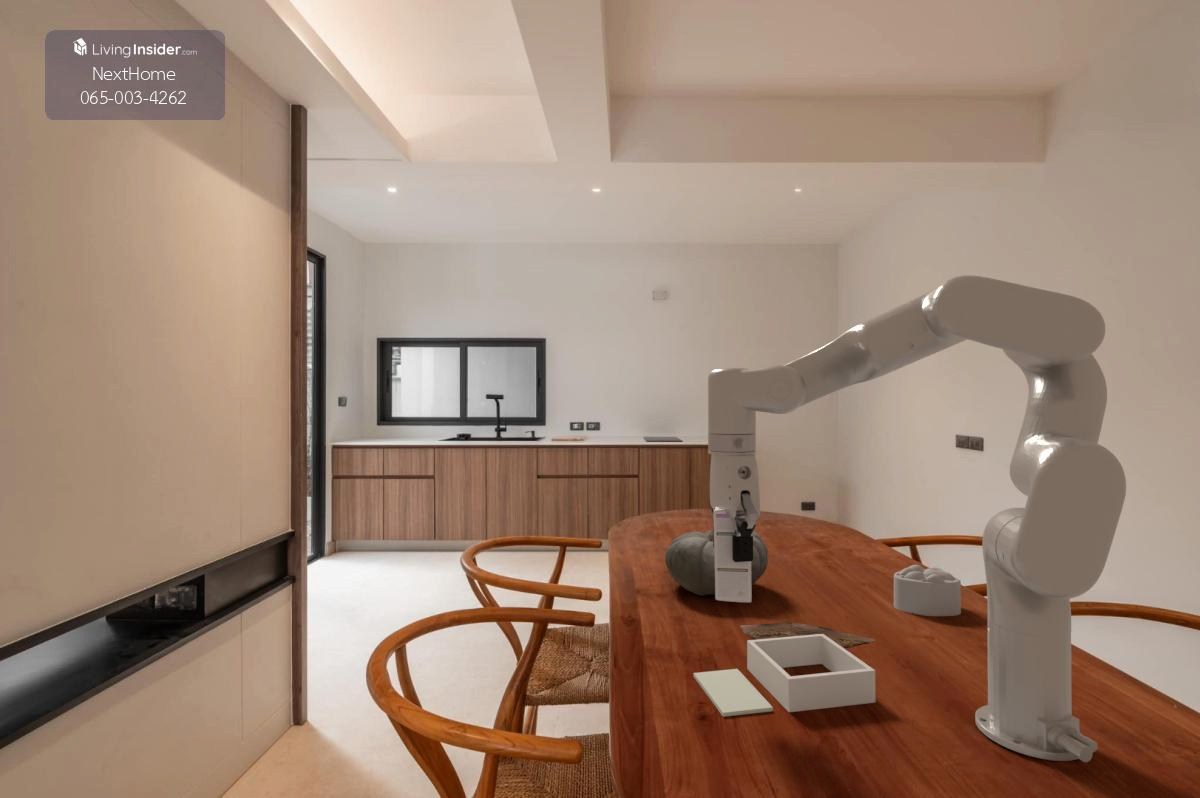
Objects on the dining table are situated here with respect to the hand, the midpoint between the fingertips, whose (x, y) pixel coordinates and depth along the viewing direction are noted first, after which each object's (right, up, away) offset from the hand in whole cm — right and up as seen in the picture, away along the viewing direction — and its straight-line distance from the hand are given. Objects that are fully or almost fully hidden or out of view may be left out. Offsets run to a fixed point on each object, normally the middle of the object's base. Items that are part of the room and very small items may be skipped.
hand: (732, 553), depth 95 cm
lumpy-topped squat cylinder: (+52, -22, +38) cm, 68 cm away
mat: (0, -22, 0) cm, 22 cm away
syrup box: (0, -7, 0) cm, 7 cm away
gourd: (+7, -23, +52) cm, 57 cm away
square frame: (+13, -22, +2) cm, 26 cm away
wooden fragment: (+20, -23, +23) cm, 38 cm away
